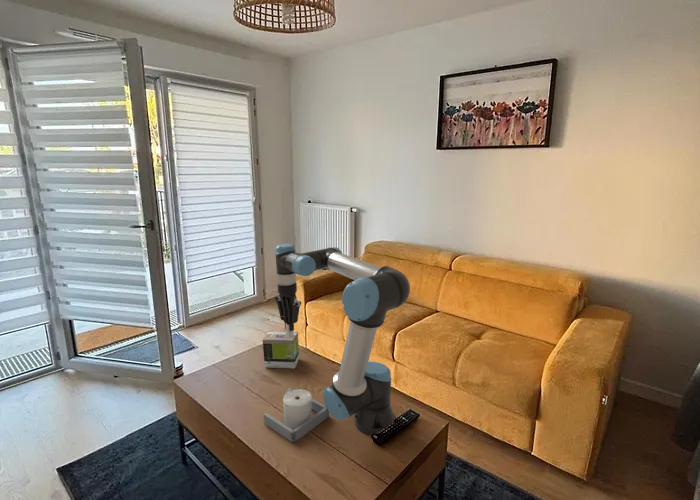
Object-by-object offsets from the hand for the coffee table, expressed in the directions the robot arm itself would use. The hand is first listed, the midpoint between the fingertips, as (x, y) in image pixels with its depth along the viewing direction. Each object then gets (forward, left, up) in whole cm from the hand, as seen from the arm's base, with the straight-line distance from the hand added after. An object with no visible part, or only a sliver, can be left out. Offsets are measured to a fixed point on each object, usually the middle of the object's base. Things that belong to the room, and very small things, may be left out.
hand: (290, 337), depth 160 cm
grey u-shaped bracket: (-14, +11, -25) cm, 31 cm away
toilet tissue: (-15, +11, -26) cm, 32 cm away
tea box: (+22, -13, -26) cm, 36 cm away
